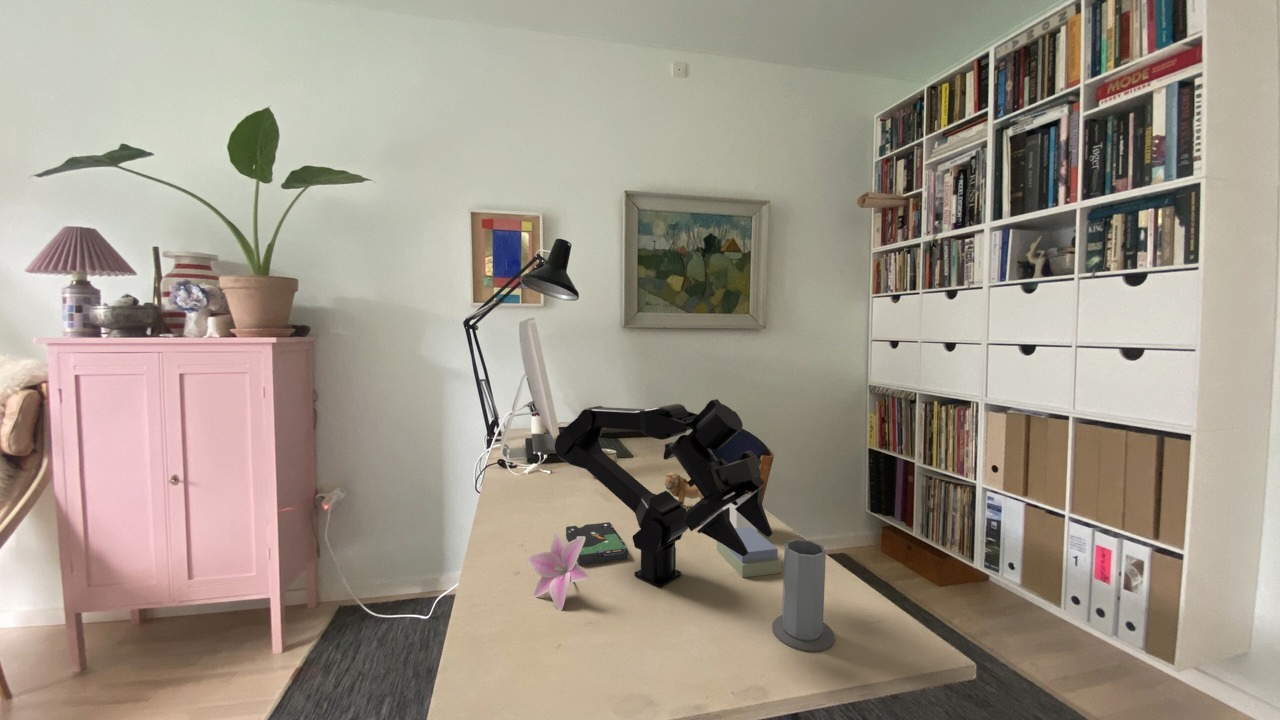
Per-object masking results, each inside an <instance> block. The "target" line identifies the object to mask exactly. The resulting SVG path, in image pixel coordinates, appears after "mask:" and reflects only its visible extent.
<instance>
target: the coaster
mask: <svg viewBox="0 0 1280 720" xmlns="http://www.w3.org/2000/svg"><path fill="white" fill-rule="evenodd" d="M771 630H772V632H773V634H774V636H775V637H776V638H777V639H778V640H779V641H780V642H781V643H782V644H784V645H786V646H788V647H789V648H791V649H792V648H793V649H795V650H798V651H802V652H807V653H808V652H809V653H818V652H824V651H827V650H828V649H830V648H832V647H833V646H834V644H835V633H834V631H833V629H832V628H831V627H830V626H829V625H828V624H826V622H824V621H823V632H822V633H821V637H820V638H819V639H818V640H816V641H812V642H805V641H800V640H796V639H794V638H792V637H790V636H789V635H787V634H786V633H785V631H784V630H783V619H782V615H780V616H778V617H776V618H775V619H774V620H773V622H772V629H771Z"/></svg>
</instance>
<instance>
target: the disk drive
mask: <svg viewBox="0 0 1280 720" xmlns="http://www.w3.org/2000/svg"><path fill="white" fill-rule="evenodd" d="M582 536H585V542H584V544H583V547H582V549H581V551H580V554H579V556H578V559H577V561H576V564H578V565H579V566H580V567H582V566H588V565H595V564H602V563H610V562H616V561H618V562H619V561H624V560H628V559H629V550H628V549H627V548H628V547H627V545H626V543H625V542H624V541H623V539H622V538H621V536H620V535H619V534H618V532H617V530H616V529H615V528H614V526H613V524H612V523H611V522H609V521H608V522H607V521H606V522H601V523H600V522H598V523H587V524H584V525H583V526H581V527H579V526H577V525H573V526H572V525H570V526H566V527H565V537H566V541H567V540H568V541H567V543H569V542H571V541H573V540H575V539H577V538H579V537H582Z"/></svg>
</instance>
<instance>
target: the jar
mask: <svg viewBox="0 0 1280 720" xmlns="http://www.w3.org/2000/svg"><path fill="white" fill-rule="evenodd" d="M758 490H760V489H758ZM758 490H757V491H758ZM738 506H739V505H736V506H735V505H733V504H732V503H730V504H728V505H727V506H725V507H723V508H722V509H723V510H725V509H726V508H728V507H729V508H730V521H731V523H732V525H733V526H734V528H742V527H752V528H753V529H755V530H756V531H757V532H759V530H758V529H756V528H755V527H754V526H753V525H752V524H751V523H750V522H749V521H747V520H746V519H745V518H744V517H743V516H742V515H741V514H740V513H738V512H737V511H736V510H735V508H737V507H738Z"/></svg>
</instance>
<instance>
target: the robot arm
mask: <svg viewBox="0 0 1280 720" xmlns="http://www.w3.org/2000/svg"><path fill="white" fill-rule="evenodd" d="M604 428H605V429H619V430H627V431H630V430H631V431H637V432H641V433H642V434H643V435H645V436H647V437H650V438H652V439H656V440H663V441H664V440H667V439H670V438H674V437H677V436H679V437H678V438H677V439H675V441H674V442H668V443H665V444H664V451H663V460H665V461H666V460H670V459H672V458H675V459H676V460H677V461H678V462H679V464H680V465H681V467H682V468H683V470H684V471H685V473H686V474H687V475H688V477H689V478H690V479H689V480H687V481H688V482H687V483H688V484H689V486H690V487H692V486H696V487H697V488H698V490H699V491H700V493H701V494H702V496H703V497H704V498H702V499H700V500H699V501H697V502H696V503H695V504H694V505H693V506H692V507H690V508H689V509H688V510H687V509H686V508H685V507H683V506H681V504H683V502H681V501H679V499H676V497H675V496H673V495H672V493H671V492H670V491H668V490H664V491H662V492H659V493H657V494H656V493H653V492H652V491H650V490H649V489H648V488H647V487H645V486H644V485H643V484H642V483H640V482H639V481H638V480H637V479H636V478H635V477H633V475H631V474H630V473H629V472H627V470H625V469H624V468H623V467H622V466H620V465H619V464H618V463H617V462H616V461H615V460H613V459H612V458H611V457H610V456H609V455H607V454H606V453H605V452H604V451H603V449H602V444H601V442H600V440H599V439H600V438H601V436H602V435H603V430H604ZM742 429H743V421H742V420H741V418H740V415H739V414H738V413H737V412H736V411H735V410H733V409H731V408H730V407H729V406H727V405H726V404H723V403H722V402H720V399H717V398H716V399H711V400H710V401H709V402H708V403H707V404H706V405H705V407H704V408H703V409H702V410H701V411H700V412H699V413H695V412H692V411H688V409H686V406H685V405H683V404H681V403H674V404H669V405H662V406H657V407H651V408H645V409H644V408H625V407H624V408H623V407H607V406H606V407H605V406H602V405H598V406H592V407H586V408H584V409H583V410H582V411H580V413H579V415H577V417H576V418H575V419H574V420H573V421H571V422H570V423H569V424H568V425H567V426H566V427H564V429H563V430H562V431H561V432H560V433H559V434H558V435H557V436H556V439H555V442H554V449H555V454H556V455H557V457H558V458H560V460H563V461H564V462H566V463H567V464H568V465H570V466H574V467H577V468H581V469H584V470H586V471H588V473H590V475H592V476H593V477H594V478H595V479H596V480H598V482H600V483H601V484H602V485H603V486H604V487H605V488H606V489H607V490H609V491H610V492H611V493H612V494H613V495H614V496H615V497H617V498H618V499H619V500H620V501H621V503H624V504H625V506H627V508H629V510H631V511H632V512H633V513H634V514H635V518H636V521H637V525H638V527H639V528H640V529H639V530H638V531H636V533H635V534H633V535H632V541H633V542H632V543H633V545H634V548H635V549H638V550H640V569H639V570H637V571H635V572H634V576H635V577H637V578H638V579H641V580H643V581H645V582H647V583H648V584H651V585H653V586H656V587H658V588H661V587H663V586H665V585H667V584H668V583H670V582H672V581H674V580H676V579H677V578H680V576H682V571H680V570H678V569H676V564H677V563H676V562H677V561H676V558H677V556H676V555H677V548H676V542H678V541H680V540H681V539H682V536H683V534H684V533H686V532H687V530H688V529H689V531H690V532H693V531H694V530H696V532H697V533H698V534H704V535H706V536H707V537H709V538H711V539H713V540H715V541H716V542H717V541H718V542H720V543H722V544H723V545H725V546H727V547H728V548H730V549H731V550H733V551H735V552H736V553H738V554H739V555H741V556H745V555H747V554H748V551H747V549H746V547H745V545H744V543H743V541H742V540H741V538H740V536H739V535H738V533H737V531H736V530H735V528H734V526H733V525H732V523H731V521H730V508H729V507H728V508H726V509H725V510H723V509H722V508H723V507H725V506H727V505H728V504H730V503H732V504H733V505H735V506H736V505H739V506H738V507H737V508H735V510H736V511H737V512H738V513H740V514H741V515H742V516H743V517H744V518H745V519H746V520H747V521H749V522H750V523H751V524H752V525H753V526H754V527H755V528H756V529H758V532H760V534H761V535H763V536H765V538H770V537H771V536H773V531H772V528H771V526H770V523H769V520H768V518H767V514H766V513H765V510H764V506H763V502H762V499H763V492H765V487H763V486H764V485H766V482H765V481H764V480H763V478H761V476H762V471H761V468H760V466H761V465H762V463H763V462H762V459H760V458H759V457H758V455H756V454H755V453H754V452H753V451H752V450H748V451H745V452H742V453H740V454H739V459H738V460H736V461H733V462H730V463H729V462H728V461H727V460H726V459H725V458H723V457H721V458H719V459H718V458H717V457H716V456H715V455H714V453H713V452H712V450H716V451H718V450H720V449H721V448H722V447H723V446H725V445H726V444H727V443H728V442H729V441H730V440H731V439H733V437H734V436H735V435H737V434H738V433H740V431H741V430H742ZM691 430H692V431H691ZM687 431H690V432H689V433H688V434H685V433H687ZM711 449H712V450H711ZM758 489H759V490H758ZM757 490H758V491H757Z"/></svg>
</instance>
